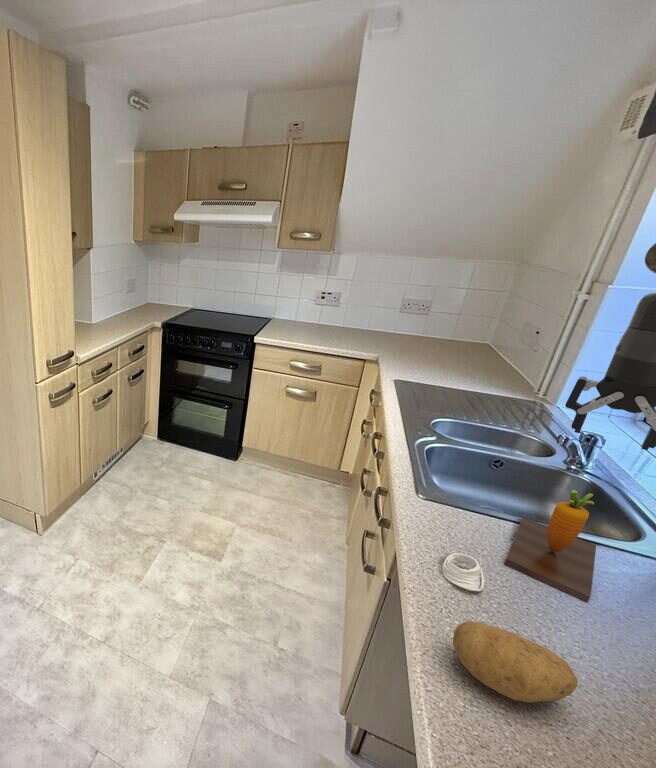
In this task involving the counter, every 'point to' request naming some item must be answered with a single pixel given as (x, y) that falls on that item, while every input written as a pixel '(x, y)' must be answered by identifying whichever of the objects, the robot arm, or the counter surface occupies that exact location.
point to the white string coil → (463, 572)
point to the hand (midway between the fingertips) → (609, 439)
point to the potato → (513, 663)
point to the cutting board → (552, 560)
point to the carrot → (567, 521)
